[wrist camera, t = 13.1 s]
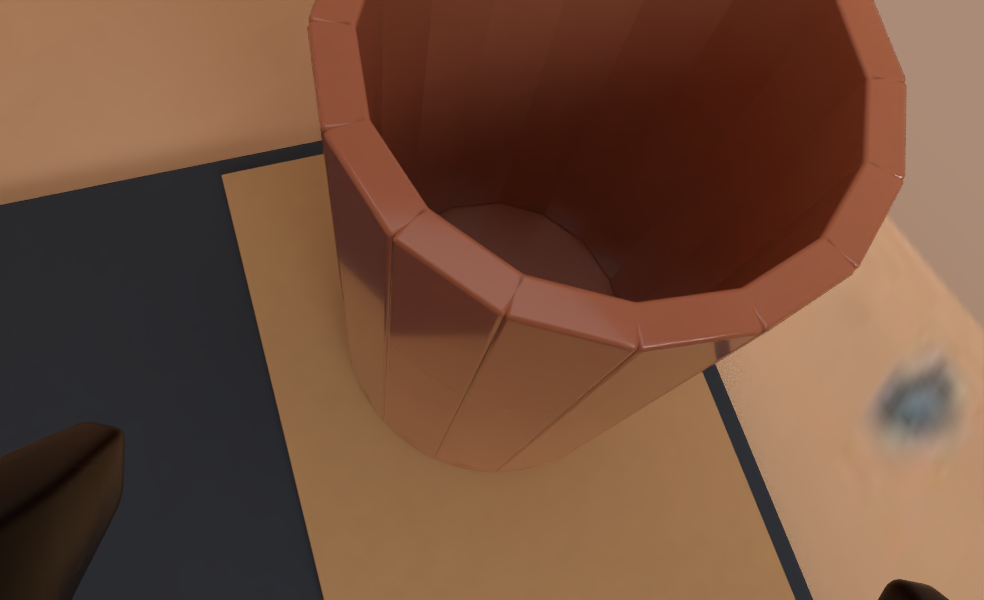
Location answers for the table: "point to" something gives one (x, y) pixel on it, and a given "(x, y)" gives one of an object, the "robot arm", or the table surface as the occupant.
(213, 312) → the desk mat
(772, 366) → the table surface
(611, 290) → the cup
